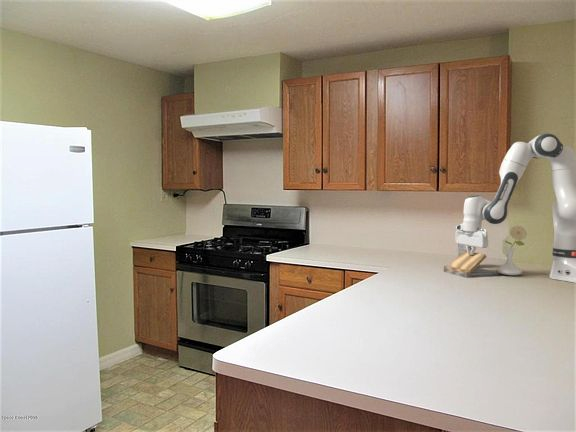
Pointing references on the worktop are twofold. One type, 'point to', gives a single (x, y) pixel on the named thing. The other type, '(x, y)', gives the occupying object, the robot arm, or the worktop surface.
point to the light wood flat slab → (468, 261)
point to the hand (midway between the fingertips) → (470, 254)
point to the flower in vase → (509, 266)
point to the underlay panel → (475, 273)
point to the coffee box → (461, 248)
